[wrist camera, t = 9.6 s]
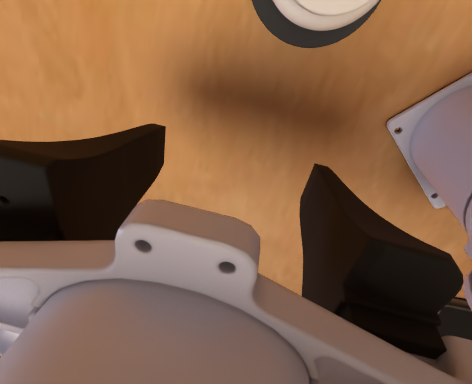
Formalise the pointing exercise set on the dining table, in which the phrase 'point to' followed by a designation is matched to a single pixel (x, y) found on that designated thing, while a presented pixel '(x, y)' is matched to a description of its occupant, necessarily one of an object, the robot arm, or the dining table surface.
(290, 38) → the coaster
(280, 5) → the supplement bottle
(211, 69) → the dining table surface
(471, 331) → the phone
